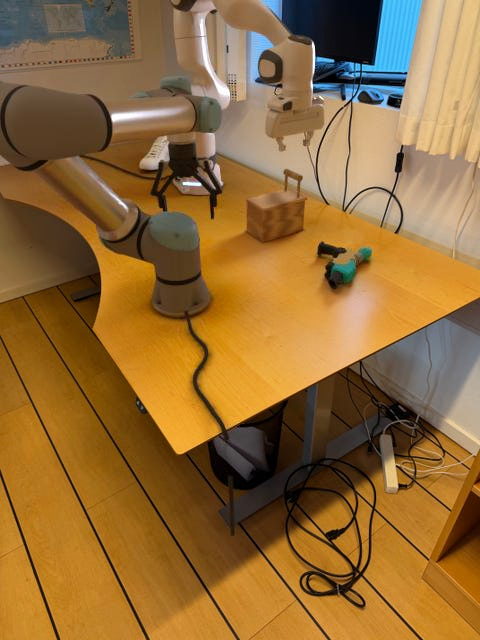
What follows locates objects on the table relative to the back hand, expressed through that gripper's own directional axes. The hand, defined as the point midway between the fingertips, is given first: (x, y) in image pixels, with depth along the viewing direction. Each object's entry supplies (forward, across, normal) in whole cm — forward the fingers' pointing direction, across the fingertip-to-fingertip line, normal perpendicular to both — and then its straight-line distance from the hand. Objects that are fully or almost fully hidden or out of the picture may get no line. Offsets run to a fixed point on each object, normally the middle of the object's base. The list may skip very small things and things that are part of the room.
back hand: (294, 148), depth 147 cm
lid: (+16, +6, 0) cm, 17 cm away
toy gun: (+26, +7, +31) cm, 41 cm away
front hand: (+13, +39, +2) cm, 41 cm away
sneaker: (+26, +10, -86) cm, 91 cm away
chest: (+26, +6, 0) cm, 27 cm away
